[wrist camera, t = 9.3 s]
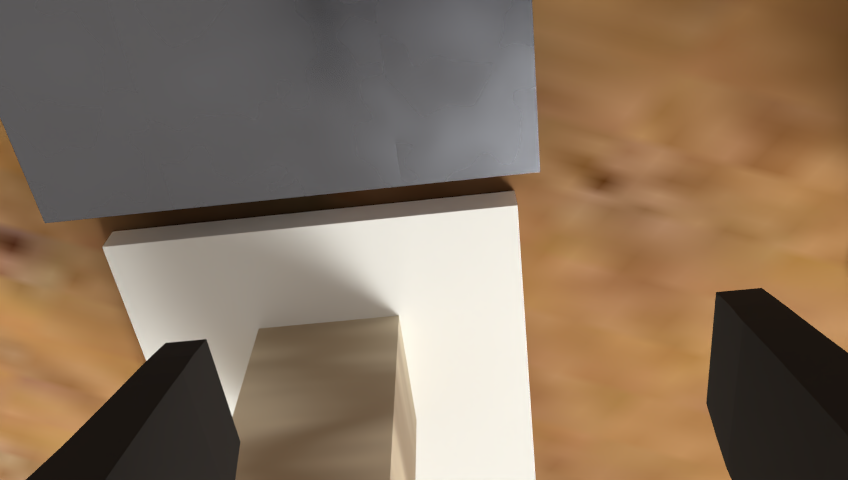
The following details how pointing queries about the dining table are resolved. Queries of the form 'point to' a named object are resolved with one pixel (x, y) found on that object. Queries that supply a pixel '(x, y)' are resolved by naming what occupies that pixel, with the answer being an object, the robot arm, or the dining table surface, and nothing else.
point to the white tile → (360, 307)
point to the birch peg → (327, 404)
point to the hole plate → (261, 98)
